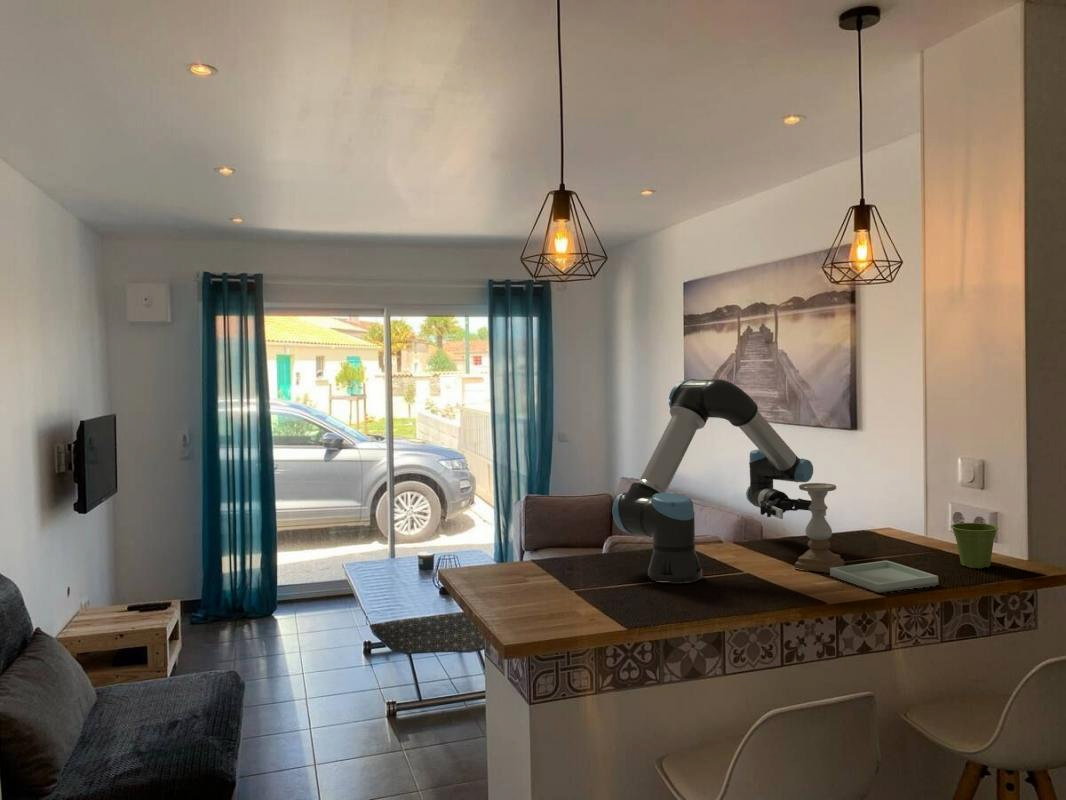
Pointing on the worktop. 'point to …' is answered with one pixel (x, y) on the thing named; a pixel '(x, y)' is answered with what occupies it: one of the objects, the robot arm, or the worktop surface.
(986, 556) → the plant pot
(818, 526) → the candle holder
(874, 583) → the tray
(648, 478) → the robot arm
